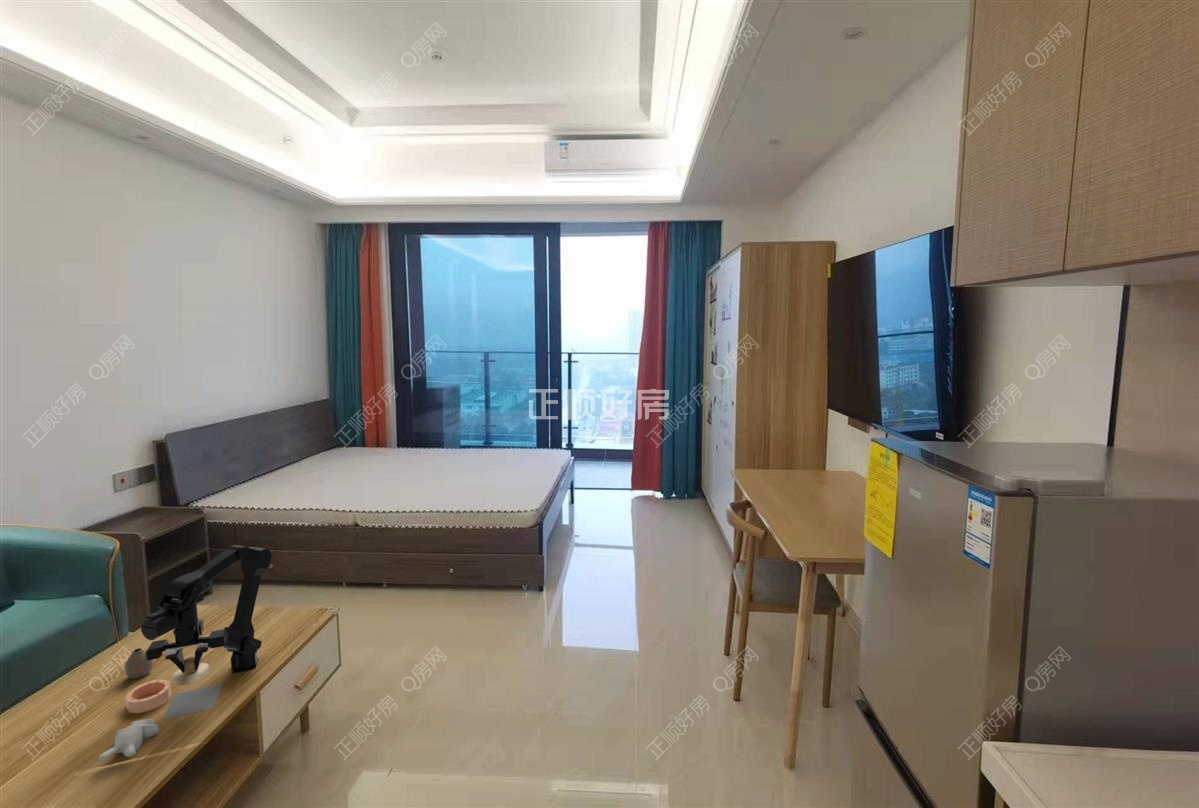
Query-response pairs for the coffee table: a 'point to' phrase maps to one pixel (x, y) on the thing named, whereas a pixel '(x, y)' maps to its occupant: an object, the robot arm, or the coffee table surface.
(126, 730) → the grey toy figurine
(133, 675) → the vase
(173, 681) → the lid
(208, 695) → the mat
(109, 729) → the coffee table surface
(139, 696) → the bowl
